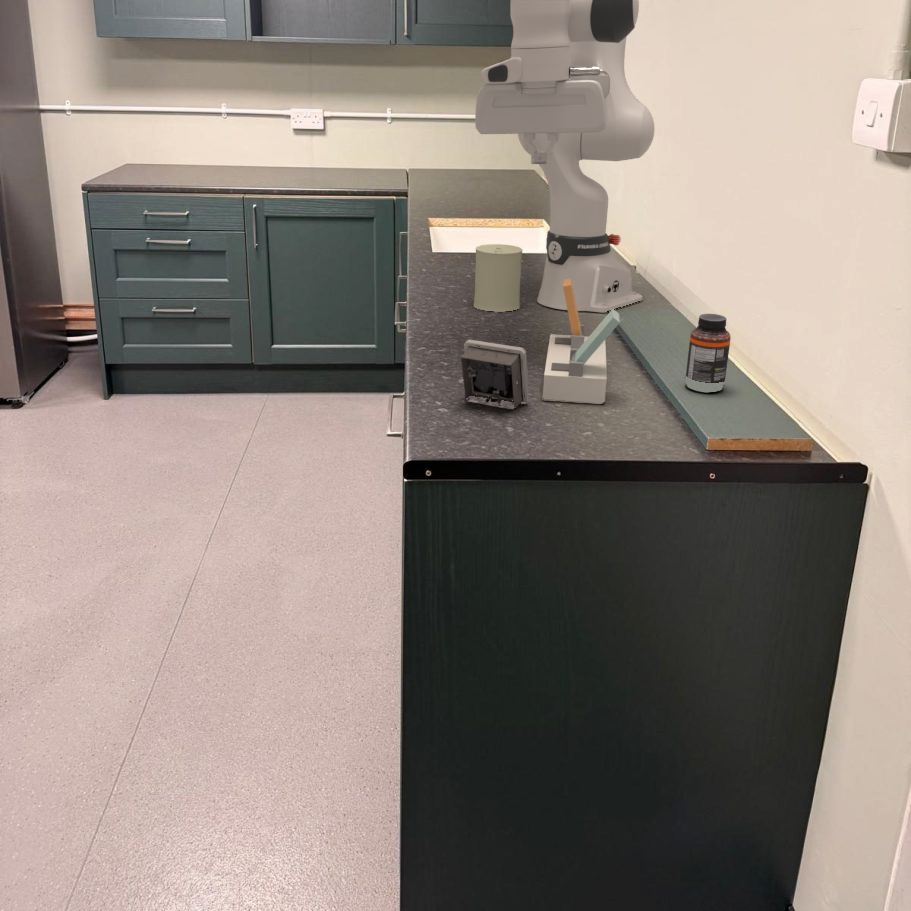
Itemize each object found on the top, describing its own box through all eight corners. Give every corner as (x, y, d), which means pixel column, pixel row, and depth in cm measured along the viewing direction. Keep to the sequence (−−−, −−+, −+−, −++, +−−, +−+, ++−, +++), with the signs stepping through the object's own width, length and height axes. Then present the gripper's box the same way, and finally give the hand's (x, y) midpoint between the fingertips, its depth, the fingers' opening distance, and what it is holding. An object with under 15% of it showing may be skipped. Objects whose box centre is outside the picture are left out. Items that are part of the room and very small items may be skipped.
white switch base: (542, 401, 142) (544, 361, 139) (550, 347, 167) (552, 313, 165) (604, 405, 141) (608, 365, 138) (602, 350, 166) (605, 316, 164)
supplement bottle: (695, 379, 153) (704, 309, 149) (730, 388, 150) (740, 316, 145) (677, 388, 149) (685, 316, 144) (713, 397, 145) (723, 324, 141)
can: (473, 311, 188) (475, 250, 184) (473, 300, 197) (475, 241, 192) (520, 313, 188) (523, 251, 184) (519, 301, 197) (522, 242, 192)
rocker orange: (574, 346, 154) (562, 286, 150) (574, 337, 159) (563, 279, 155) (582, 344, 153) (571, 285, 150) (583, 335, 158) (571, 277, 155)
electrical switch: (529, 404, 141) (530, 344, 136) (516, 418, 137) (517, 356, 132) (471, 393, 144) (470, 335, 140) (456, 407, 140) (455, 347, 136)
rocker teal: (569, 368, 141) (612, 317, 137) (570, 357, 146) (612, 308, 142) (576, 374, 141) (620, 323, 137) (577, 363, 146) (619, 313, 142)
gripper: (613, 65, 146) (610, 160, 151) (481, 69, 151) (483, 161, 157) (607, 67, 140) (605, 166, 146) (470, 71, 145) (473, 166, 151)
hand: (541, 163), depth 151 cm, fingers closed
